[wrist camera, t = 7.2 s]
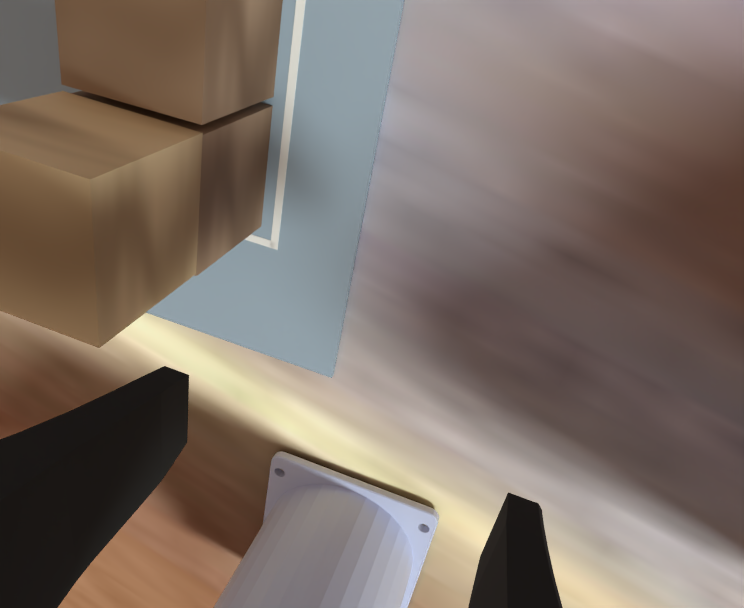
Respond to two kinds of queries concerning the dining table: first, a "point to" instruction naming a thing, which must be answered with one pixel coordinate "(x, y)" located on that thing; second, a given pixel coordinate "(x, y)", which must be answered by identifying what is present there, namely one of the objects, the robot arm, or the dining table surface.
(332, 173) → the blueprint mat
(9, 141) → the oak block
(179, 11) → the walnut block
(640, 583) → the dining table surface
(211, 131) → the walnut block
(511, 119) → the dining table surface
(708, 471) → the dining table surface
